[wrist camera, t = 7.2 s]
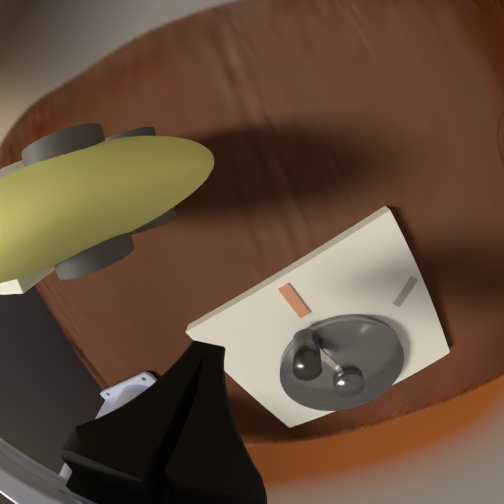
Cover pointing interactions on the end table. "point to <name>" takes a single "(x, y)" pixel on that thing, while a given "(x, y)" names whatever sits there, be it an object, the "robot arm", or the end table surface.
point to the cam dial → (341, 362)
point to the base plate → (325, 310)
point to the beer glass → (501, 137)
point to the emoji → (89, 199)
